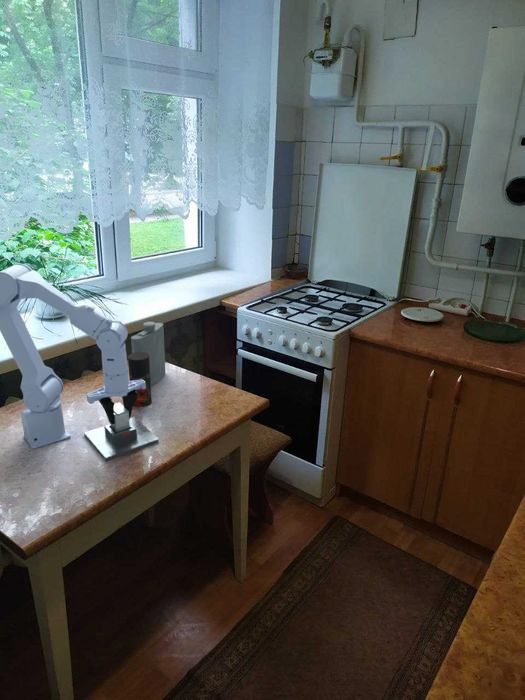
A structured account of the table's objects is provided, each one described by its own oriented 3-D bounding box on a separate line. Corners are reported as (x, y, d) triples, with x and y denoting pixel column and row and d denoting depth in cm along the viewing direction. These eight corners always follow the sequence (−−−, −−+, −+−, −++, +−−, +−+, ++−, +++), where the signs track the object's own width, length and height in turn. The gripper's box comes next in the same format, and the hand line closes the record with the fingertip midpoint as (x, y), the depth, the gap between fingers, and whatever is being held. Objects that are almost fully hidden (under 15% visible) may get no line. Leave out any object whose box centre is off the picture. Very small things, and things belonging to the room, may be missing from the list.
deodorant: (154, 398, 148) (151, 352, 143) (148, 408, 143) (145, 360, 137) (135, 397, 149) (131, 351, 143) (128, 406, 143) (124, 359, 138)
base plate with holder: (105, 461, 118) (104, 448, 117) (84, 435, 128) (83, 424, 127) (158, 442, 127) (158, 430, 125) (134, 419, 137) (133, 408, 135)
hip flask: (158, 371, 167) (156, 314, 159) (169, 373, 166) (167, 316, 158) (132, 391, 153) (128, 330, 145) (144, 393, 152) (140, 332, 144)
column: (118, 438, 124) (115, 414, 121) (109, 430, 128) (107, 406, 125) (131, 434, 126) (130, 410, 123) (123, 425, 130) (121, 402, 127)
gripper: (92, 384, 113) (97, 435, 118) (150, 370, 122) (152, 418, 127) (81, 374, 118) (86, 423, 123) (137, 360, 127) (140, 407, 132)
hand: (119, 420), depth 125 cm, fingers closed on column, 4 cm apart
